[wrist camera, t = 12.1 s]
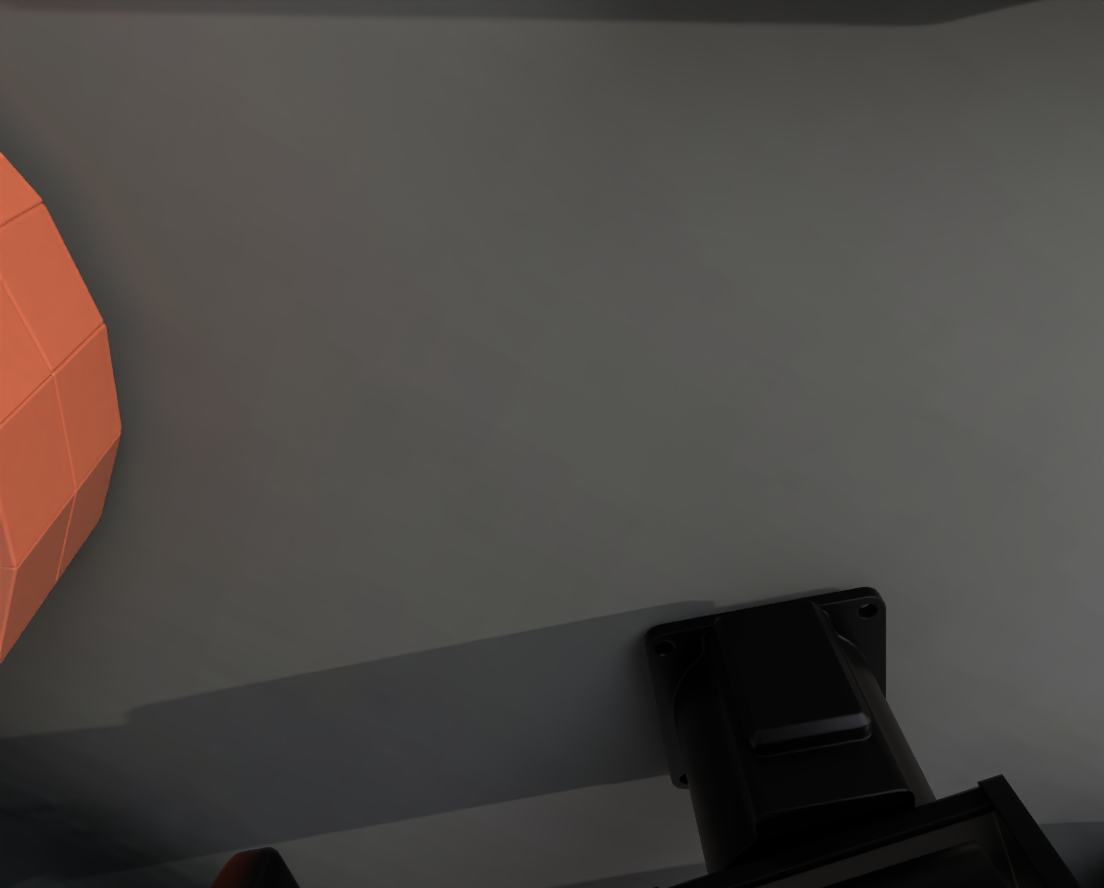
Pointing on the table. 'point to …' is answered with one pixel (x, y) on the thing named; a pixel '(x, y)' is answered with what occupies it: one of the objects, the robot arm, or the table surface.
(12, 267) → the terracotta bowl
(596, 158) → the table surface
